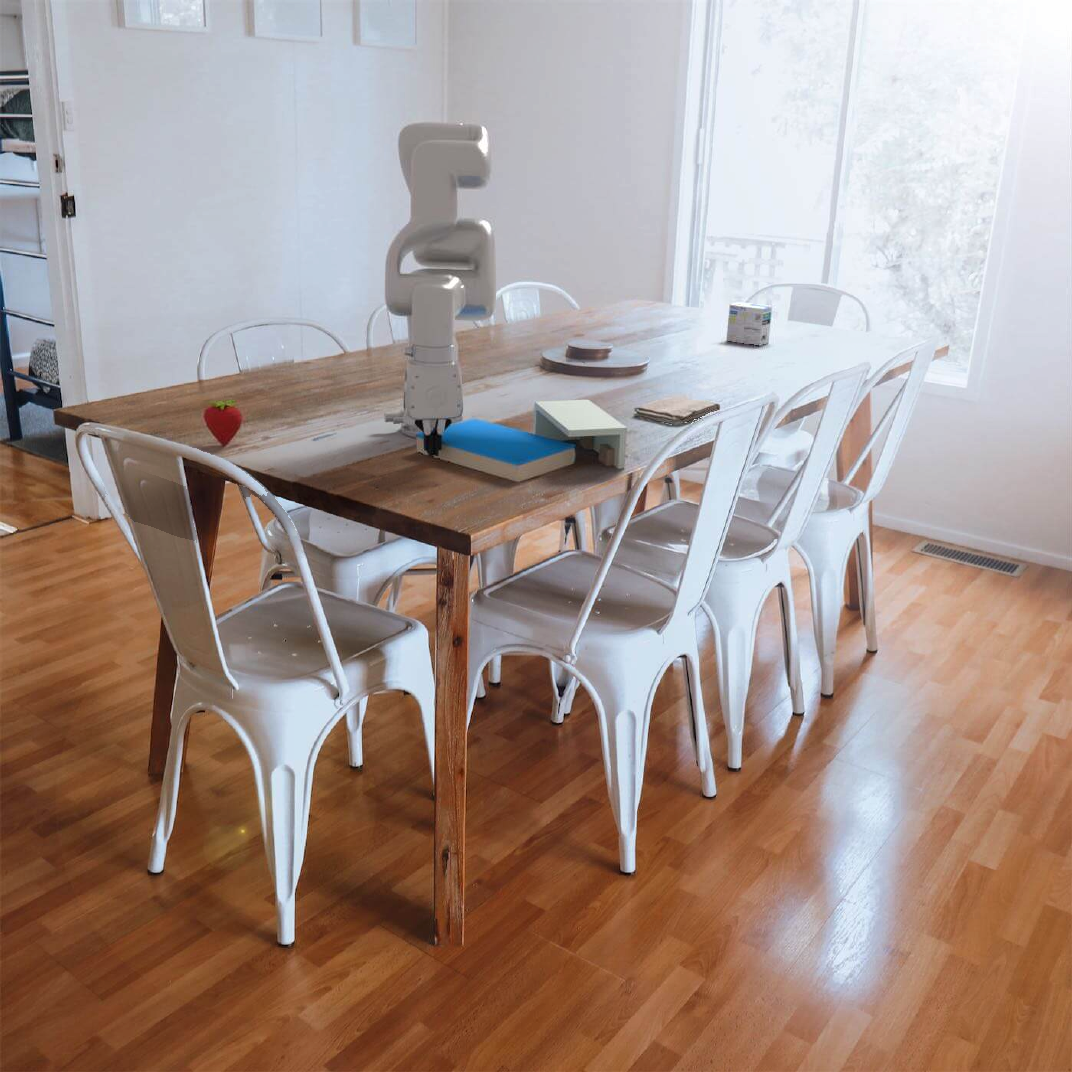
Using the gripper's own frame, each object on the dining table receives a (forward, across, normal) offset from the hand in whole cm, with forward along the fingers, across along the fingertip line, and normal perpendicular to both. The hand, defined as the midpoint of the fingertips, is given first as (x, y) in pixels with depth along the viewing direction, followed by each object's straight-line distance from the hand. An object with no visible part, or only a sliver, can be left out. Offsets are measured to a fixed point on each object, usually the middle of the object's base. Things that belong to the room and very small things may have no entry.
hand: (432, 454), depth 204 cm
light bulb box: (+2, +112, +100) cm, 150 cm away
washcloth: (+2, +59, +26) cm, 64 cm away
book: (+2, +12, +1) cm, 12 cm away
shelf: (+2, +28, 0) cm, 28 cm away
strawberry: (+2, -36, +16) cm, 40 cm away
